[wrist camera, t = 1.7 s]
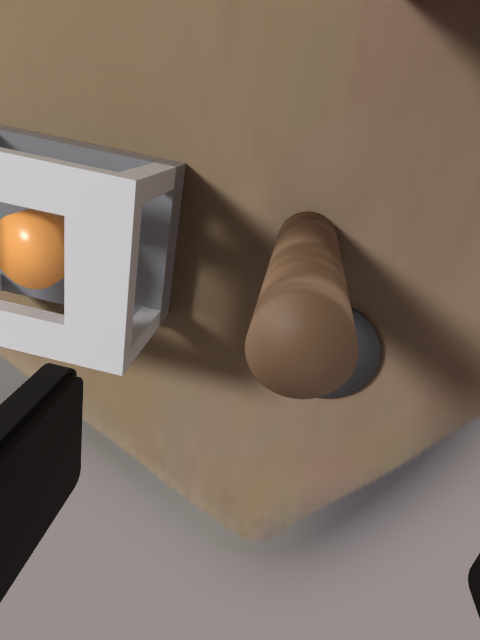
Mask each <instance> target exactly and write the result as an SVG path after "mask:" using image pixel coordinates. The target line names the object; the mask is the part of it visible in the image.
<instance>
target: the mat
mask: <svg viewBox="0 0 480 640" xmlns="http://www.w3.org/2000/svg"><path fill="white" fill-rule="evenodd" d="M351 309H352V308H351ZM352 314H353V319H354V324H355V330H356V335H357V340H358V345H359V355H358V361H357V365H356V367H355V369H354V371H353V373H352V375H351V376H350V378H349V379H348V380H347V381H346V382H345V383H344V384H343V385H342V386H341V387H339V388H338V389H337V390H335V391H333V392H331V393H329V394H327V395H324V396H321V397H317V398H338V397H342V396H346V395H349V394H351V393H353V392H355V391H357V390H359V389H360V388H362V387H363V386H364V385H365V384H367V383H368V382H369V381H370V379H371V378H372V377H373V375H374V374H375V372H376V370H377V368H378V366H379V362H380V357H381V347H380V342H379V338H378V336H377V333H376V331H375V329H374V327H373V326H372V324H371V323H370V322H369V321H368V320H367V319H366V318H365V317H364V316H363V315H362V314H360V313H359V312H357V311H356V310H354V309H352Z"/></svg>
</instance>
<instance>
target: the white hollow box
mask: <svg viewBox="0 0 480 640" xmlns="http://www.w3.org/2000/svg"><path fill="white" fill-rule="evenodd" d="M185 167H186V163H181V162H176V161H171V160H166V159H162V158H157V157H152V156H147V155H143V154H138V153H133V152H128V151H123V150H119V149H114V148H109V147H104V146H100V145H95V144H90V143H85V142H80V141H76V140H71V139H66V138H61V137H57V136H52V135H47V134H42V133H37V132H33V131H28V130H23V129H18V128H14V127H9V126H4V125H0V219H2V218H3V217H5V216H7V215H10V214H13V213H16V212H19V211H23V210H26V209H29V208H30V209H35V210H40V211H44V212H49V213H53V214H58V215H62V216H64V278H63V279H61V280H60V281H58V282H56V283H55V284H53V285H52V286H50V287H48V288H44V289H30V288H26V287H23V286H21V285H19V284H17V283H15V282H14V281H12V280H11V279H10V278H9V277H7V276H6V275H5V273H4V272H3V271H2V270H1V269H0V291H2V290H3V291H7V292H11V293H16V294H20V295H24V296H28V297H33V298H37V299H41V300H46V301H50V302H54V303H58V304H63V305H64V315H62V314H58V313H54V312H50V311H45V310H41V309H37V308H33V307H29V306H24V305H20V304H16V303H12V302H7V301H3V300H0V346H1V347H5V348H9V349H13V350H17V351H22V352H26V353H30V354H34V355H38V356H42V357H46V358H50V359H54V360H59V361H63V362H67V363H71V364H75V365H79V366H83V367H87V368H91V369H96V370H100V371H104V372H108V373H112V374H116V375H120V376H123V374H124V373H125V372H126V370H127V369H128V368H129V366H130V365H131V364H132V362H133V361H134V360H135V358H136V357H137V356H138V354H139V353H140V352H141V350H142V349H143V348H144V346H145V345H146V344H147V342H148V341H149V340H150V338H151V337H152V336H153V334H154V333H155V332H156V330H157V329H158V328H159V326H160V325H161V324H162V322H163V321H164V320H165V318H166V317H167V316H168V312H169V303H170V295H171V286H172V278H173V269H174V261H175V252H176V244H177V235H178V227H179V218H180V210H181V201H182V193H183V184H184V176H185Z"/></svg>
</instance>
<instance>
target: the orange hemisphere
mask: <svg viewBox="0 0 480 640" xmlns="http://www.w3.org/2000/svg"><path fill="white" fill-rule="evenodd" d="M0 269H1V270H2V271H3V272H4V273H5V275H6V276H7V277H9V278H10V279H11V280H12V281H14V282H15V283H17V284H19V285H21V286H23V287H26V288H30V289H44V288H48V287H50V286H52V285H53V284H55V283H56V282H58V281H60V280H61V279H63V278H64V216H62V215H58V214H53V213H49V212H44V211H40V210H35V209H30V208H29V209H26V210H23V211H19V212H16V213H13V214H10V215H7V216H5V217H3V218H2V219H0Z"/></svg>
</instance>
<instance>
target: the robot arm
mask: <svg viewBox="0 0 480 640" xmlns="http://www.w3.org/2000/svg"><path fill="white" fill-rule="evenodd" d="M82 405H83V380H82V378H80V377H77V374H76V371H75V370H74V369H72V368H68V367H63V366H59V365H55V364H51V363H47V364H45V365H44V366H42V367H41V368H40V369H39V370H38V371H37V372H36V373H35V374H34V375H33V376H31V377H30V378H29V379H28V380H27V381H26V382H25V383H24V384H23V385H22V386H20V387H19V388H18V389H17V390H16V391H15V392H14V393H13V394H12V395H10V397H8V398H7V399H6V400H5V401H4V402H3V403H2V404H1V405H0V602H1V601H2V599H3V597H4V596H5V594H6V593H7V591H8V589H9V588H10V587H11V585H12V584H13V582H14V580H15V579H16V577H17V576H18V574H19V573H20V571H21V569H22V568H23V567H24V565H25V563H26V562H27V560H28V559H29V557H30V556H31V554H32V553H33V551H34V549H35V548H36V546H37V545H38V543H39V542H40V540H41V539H42V537H43V536H44V534H45V532H46V531H47V529H48V528H49V526H50V525H51V523H52V522H53V520H54V519H55V517H56V515H57V514H58V512H59V511H60V509H61V508H62V506H63V505H64V503H65V502H66V500H67V498H68V497H69V495H70V494H71V492H72V491H73V489H74V488H75V486H76V484H77V481H78V479H79V475H80V470H81V438H82ZM468 583H469V588H470V591H471V594H472V597H473V600H474V603H475V606H476V609H477V612H478V615H479V617H480V554H479V555H478V557H477V558H476V560H475V562H474V563H473V565H472V567H471V568H470V571H469V575H468Z"/></svg>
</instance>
